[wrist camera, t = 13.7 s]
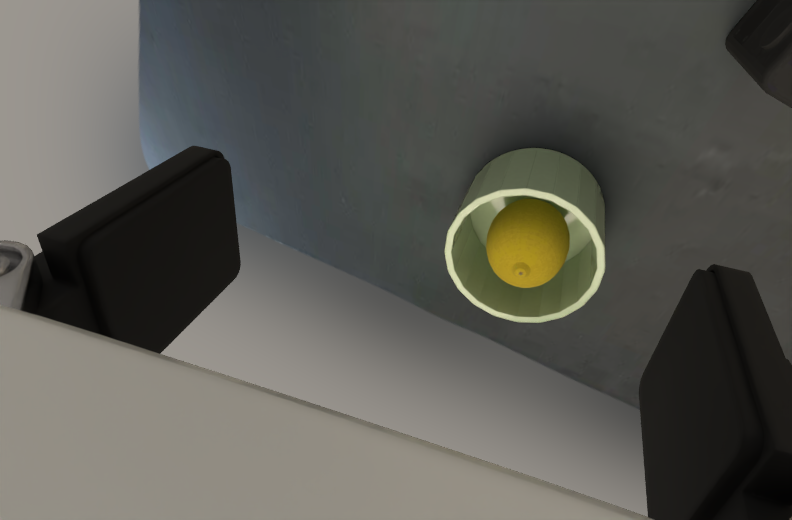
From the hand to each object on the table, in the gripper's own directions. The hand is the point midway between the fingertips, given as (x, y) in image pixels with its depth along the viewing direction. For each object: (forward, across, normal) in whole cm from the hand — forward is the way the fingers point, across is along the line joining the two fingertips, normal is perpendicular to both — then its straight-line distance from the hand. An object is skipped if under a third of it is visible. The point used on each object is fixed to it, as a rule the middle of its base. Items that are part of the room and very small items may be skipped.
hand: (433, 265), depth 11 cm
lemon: (+28, -2, +13) cm, 31 cm away
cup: (+28, -2, +13) cm, 31 cm away
